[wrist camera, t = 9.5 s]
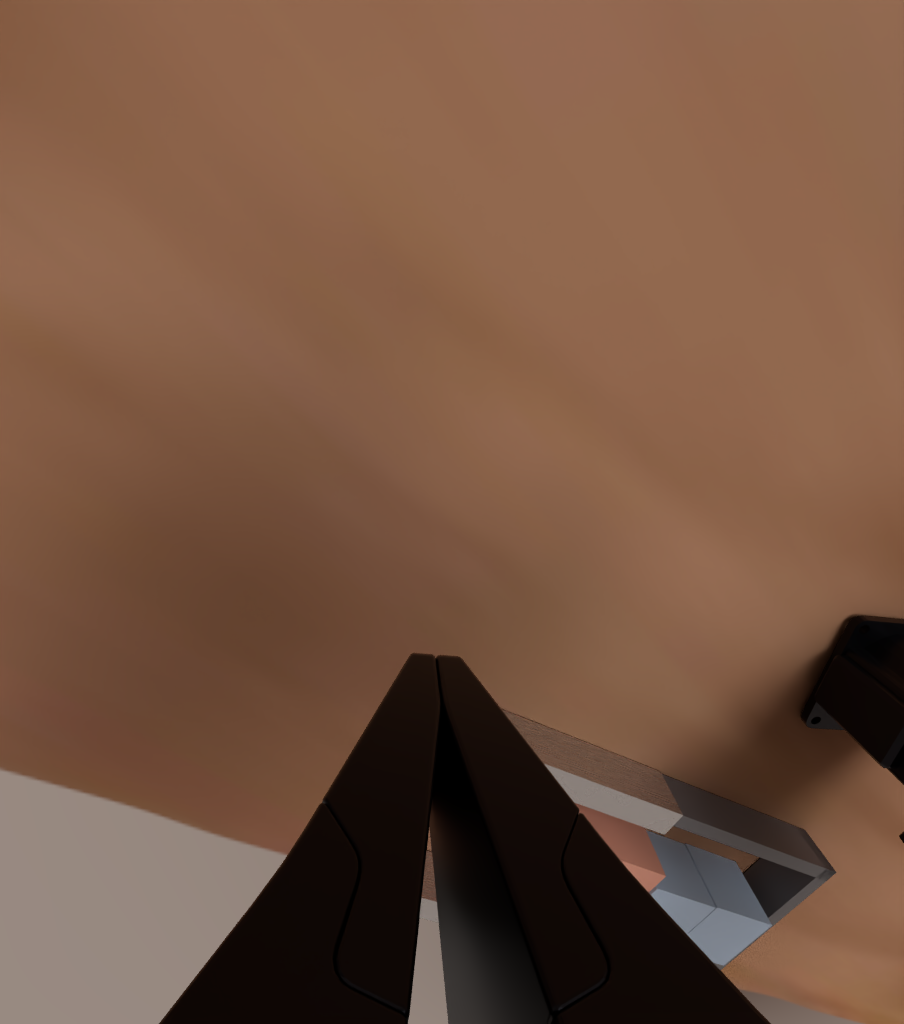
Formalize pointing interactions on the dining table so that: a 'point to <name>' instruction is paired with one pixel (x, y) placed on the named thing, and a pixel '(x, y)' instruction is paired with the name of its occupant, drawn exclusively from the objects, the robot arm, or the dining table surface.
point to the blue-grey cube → (726, 908)
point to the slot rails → (587, 788)
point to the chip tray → (756, 848)
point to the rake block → (628, 846)
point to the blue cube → (680, 884)
